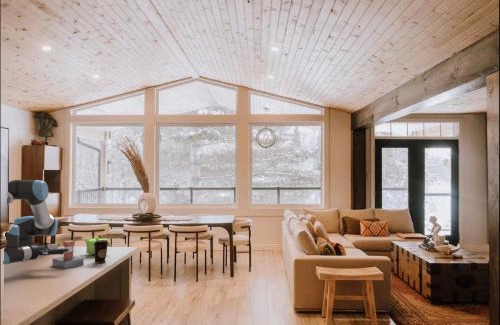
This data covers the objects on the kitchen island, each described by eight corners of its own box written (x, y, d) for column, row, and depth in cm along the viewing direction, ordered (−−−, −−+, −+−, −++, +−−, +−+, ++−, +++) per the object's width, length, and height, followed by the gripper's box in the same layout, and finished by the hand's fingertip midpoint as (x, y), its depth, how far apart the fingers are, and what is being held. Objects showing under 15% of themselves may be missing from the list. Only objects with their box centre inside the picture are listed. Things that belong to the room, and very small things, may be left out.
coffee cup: (110, 261, 246) (111, 240, 246) (101, 264, 238) (102, 242, 238) (99, 260, 249) (100, 239, 249) (89, 262, 241) (90, 241, 241)
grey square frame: (52, 265, 231) (52, 258, 231) (71, 261, 241) (71, 255, 241) (64, 268, 225) (64, 261, 225) (83, 265, 235) (83, 258, 235)
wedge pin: (62, 265, 232) (63, 241, 232) (69, 264, 236) (71, 240, 236) (65, 266, 230) (67, 242, 230) (73, 265, 234) (74, 241, 234)
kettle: (89, 257, 255) (90, 240, 255) (80, 253, 265) (81, 237, 265) (111, 254, 265) (112, 237, 266) (102, 251, 275) (102, 235, 276)
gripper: (15, 256, 219) (51, 251, 237) (41, 263, 206) (78, 256, 224) (16, 243, 219) (52, 238, 237) (42, 249, 206) (78, 243, 224)
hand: (65, 247), depth 231 cm, fingers open, 13 cm apart
